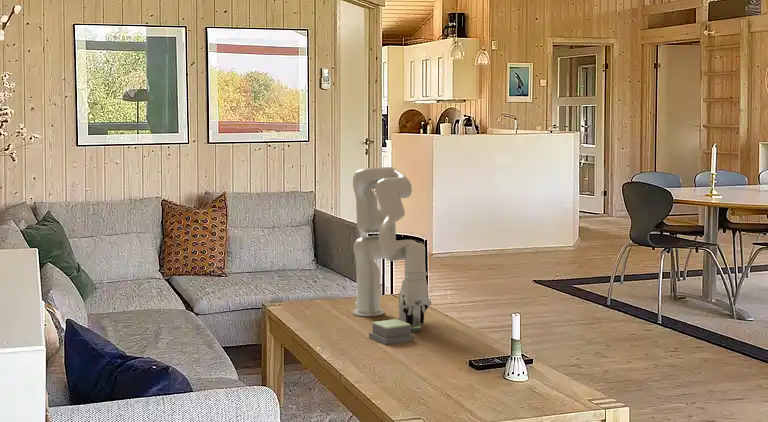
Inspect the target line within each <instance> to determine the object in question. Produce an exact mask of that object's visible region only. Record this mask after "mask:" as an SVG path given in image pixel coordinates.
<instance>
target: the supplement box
mask: <svg viewBox="0 0 768 422" xmlns="http://www.w3.org/2000/svg"><path fill="white" fill-rule="evenodd" d="M400 297H401V290H399V293H398V304H399V303H400ZM405 306H406V305H404V308H405ZM398 320H400V321H403V322H406V314H405V313H404V312H403V311H402V310H401V309H400V308H398Z"/></svg>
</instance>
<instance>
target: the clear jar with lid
mask: <svg viewBox="0 0 768 422" xmlns="http://www.w3.org/2000/svg"><path fill="white" fill-rule="evenodd" d="M419 303H421V300H419V301H415V304H416V306H414V307H412V310H411V315H412V325H410V333H421V331H422V324H421V306H420V304H419Z"/></svg>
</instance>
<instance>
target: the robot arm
mask: <svg viewBox="0 0 768 422" xmlns="http://www.w3.org/2000/svg"><path fill="white" fill-rule="evenodd" d="M352 187H353V191H354V195H355V200H356V201H355V205H356V206H355V207H356V227H357V230H358V231H359V232H360V233H362V234H373V233H376V234H377V233H378V235H368V236H362V237H359V238H356V240H355V241H354V243H353V253H354V254H353V255H354V258H355V259H354V260H355V270H356V271H355V272H356V273H355V274H356V275H355V276H356V301H355V302H354V304H355V306H356V308H355V309H353V310H352V314H353V315H354V316H358V317H378V316H382V315H384V313H385V311H384V310H385V309H382V308H381V271H380V268H379V266H378V264H377V263H376V262H375V260H380V259H381V260H382V259H383V260H386V261H390V262H394V261H395V262H396V261H397V262H398V261H404V278H403V279H402V282H401V288H400V291H401V297H400V303H399V302H398V306H397V308H398V309H399V308H400V309H401V310H402V311H403V312H404V313H405V314H406V323H409V324H410V325H412V315H411V310H412V307H414V306H416V304H415V301H419V300H421V303H419V304H420V306H421V325H423V324H424V322H425V321H424V320H425V313H426V312H427V310H428V308H429V307H430V306H431V305H432V301H431V299H430V298H429V286H428V282H427V278H426V276H428V271H426V247H425V244H424V243H421V242H417V241H416V240H414V239H402V240H401V239H400V240H397V236H396V235H397V234H396V233H397V229H396V228H397V227H396V222H399V221H401V220H402V219H403V218H404V217H405V216H406V211H405V208H404V204H403V201H402V199H408V198H410V196H411V195H412V193H413V192H412V191H413V187H412V183H411V181H410V179H408V177H407V176H406V175H404V174H403V173H402V172H400V171H399V170H398V169H397V168H394V167H390V166H385V167H380V166H378V167H364V168H359V169H358V170H356V171H355V172H354V175H353V177H352ZM374 190H375V191H374ZM375 192H376V193H375ZM376 195H377V196H376ZM378 203H379V206H380V208H378ZM404 305H406V306H405V308H404Z"/></svg>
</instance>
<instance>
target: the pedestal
mask: <svg viewBox="0 0 768 422" xmlns="http://www.w3.org/2000/svg"><path fill="white" fill-rule="evenodd" d="M368 339H370V340H373V341H375V342H378V343H380V344H382V345H383V346H384V345H385V346H387V345H394V344H400V343H406V342H414V341H415V334H412V333H411V332H410V324H409V323H406V322H403V321H400V320H399V318H398V319H397V318H392V319H386V320H380V321H379V320H377V321H372V331H370V332H368Z"/></svg>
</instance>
